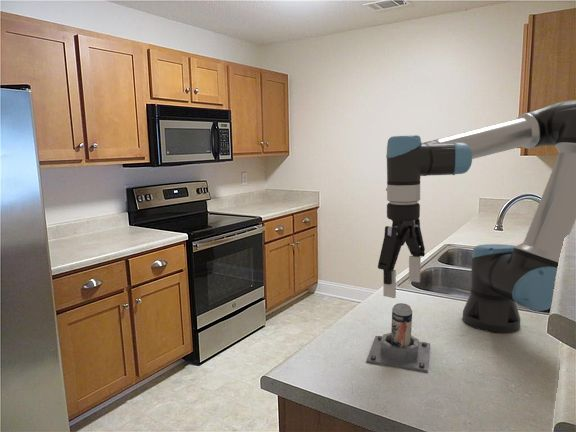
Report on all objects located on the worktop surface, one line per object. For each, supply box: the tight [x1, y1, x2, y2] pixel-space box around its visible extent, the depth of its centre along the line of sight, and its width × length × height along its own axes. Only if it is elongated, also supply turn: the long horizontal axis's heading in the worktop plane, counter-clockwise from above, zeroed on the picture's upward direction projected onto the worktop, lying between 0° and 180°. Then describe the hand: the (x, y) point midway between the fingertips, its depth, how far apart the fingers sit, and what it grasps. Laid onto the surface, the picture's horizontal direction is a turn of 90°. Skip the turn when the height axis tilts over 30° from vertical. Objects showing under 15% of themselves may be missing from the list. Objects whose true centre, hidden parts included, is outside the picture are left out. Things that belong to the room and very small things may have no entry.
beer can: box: [390, 302, 413, 347], centre depth 101 cm, size 5×5×12 cm
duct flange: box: [365, 332, 431, 373], centre depth 102 cm, size 14×14×4 cm
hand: (402, 288), depth 100 cm, fingers open, 13 cm apart
